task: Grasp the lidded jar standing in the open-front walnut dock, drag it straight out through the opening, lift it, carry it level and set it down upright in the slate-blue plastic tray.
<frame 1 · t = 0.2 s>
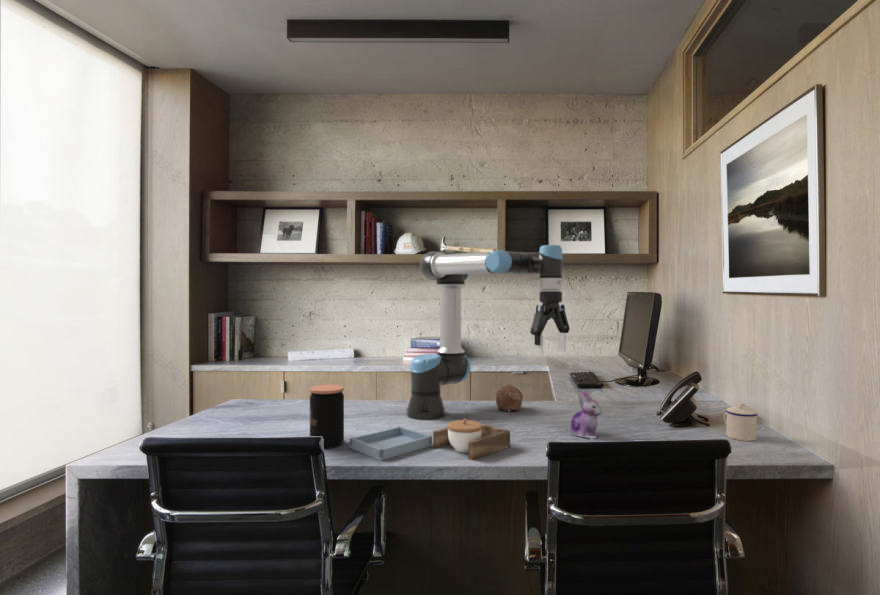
hand: (550, 353, 170), 28 cm above the table, fingers open, 13 cm apart
dock: (464, 449, 154), on the table
figurine: (586, 435, 169), on the table
teacup with lid: (737, 436, 168), on the table
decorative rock: (509, 410, 206), on the table
coffee jar: (326, 444, 159), on the table
lidded jar: (464, 450, 154), on the table
tray: (391, 446, 156), on the table
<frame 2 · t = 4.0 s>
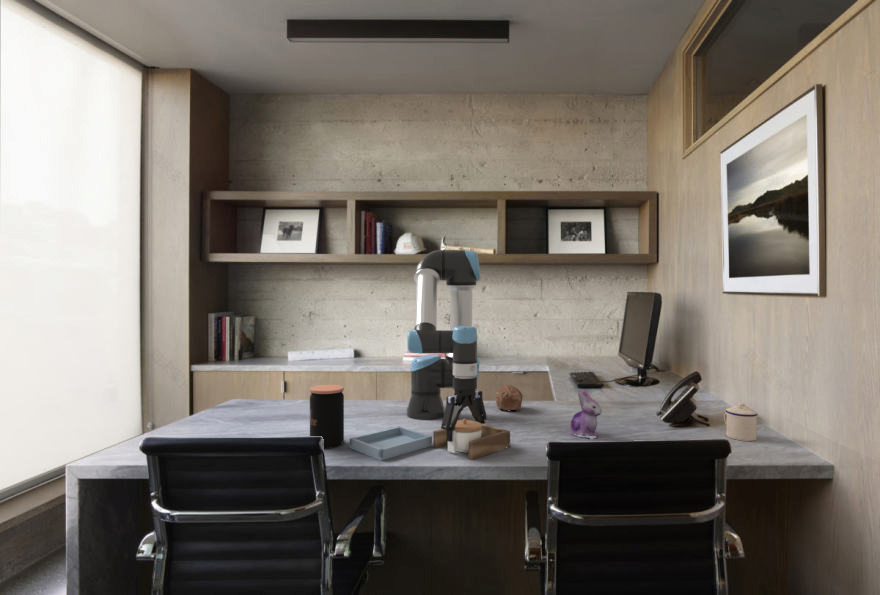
hand: (464, 447, 154), 0 cm above the table, fingers closed on lidded jar, 11 cm apart
lidded jar: (464, 449, 154), on the table, touching gripper
everything else where it was.
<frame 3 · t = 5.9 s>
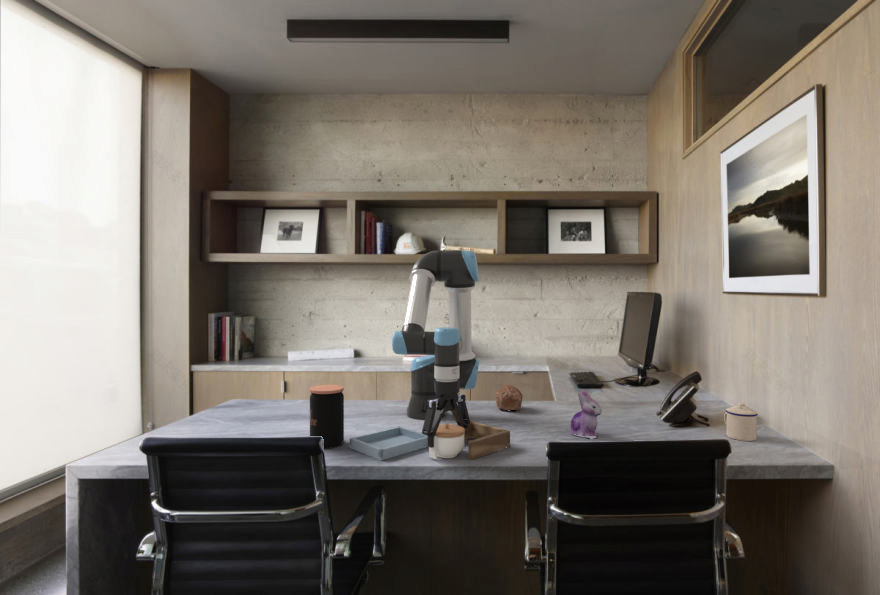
hand: (446, 453, 148), 0 cm above the table, fingers closed on lidded jar, 11 cm apart
lidded jar: (446, 455, 149), on the table, touching gripper
everything else where it was.
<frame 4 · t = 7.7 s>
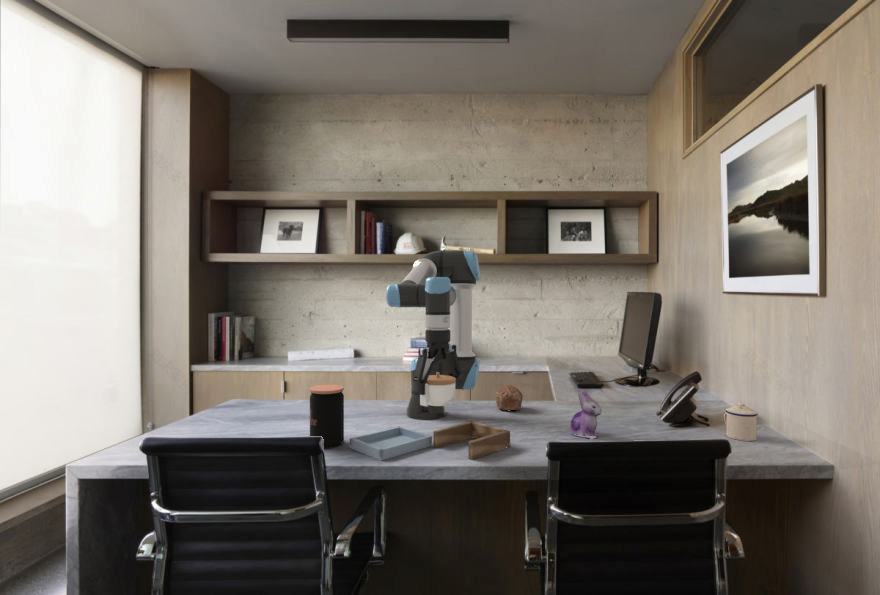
hand: (437, 402, 149), 16 cm above the table, fingers closed on lidded jar, 11 cm apart
lidded jar: (437, 404, 149), point 15 cm above the table, touching gripper
everything else where it was.
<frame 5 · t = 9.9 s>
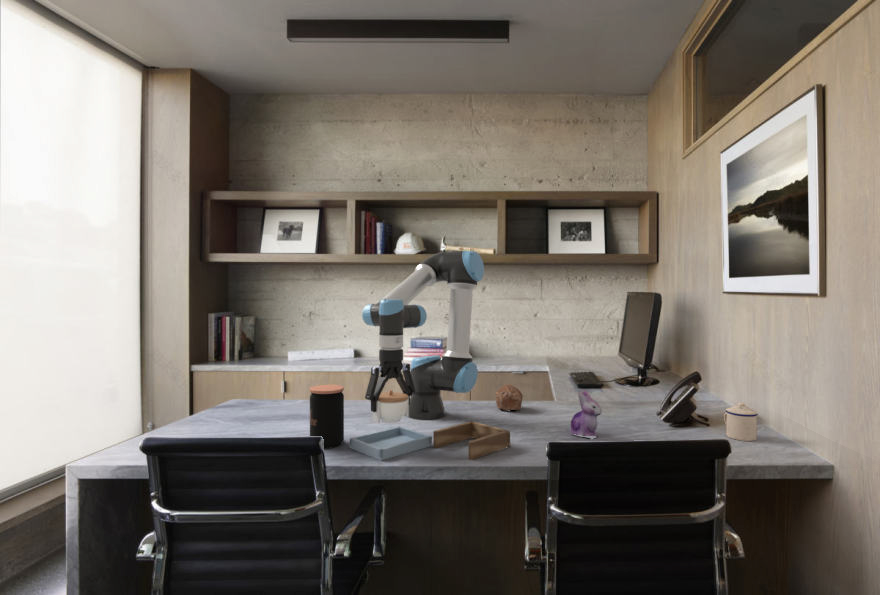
hand: (390, 418, 156), 9 cm above the table, fingers closed on lidded jar, 11 cm apart
lidded jar: (390, 420, 156), point 8 cm above the table, touching gripper
everything else where it was.
when the fingers open (2 cm above the table, at t = 11.6 s): lidded jar drops 1 cm, resting on tray.
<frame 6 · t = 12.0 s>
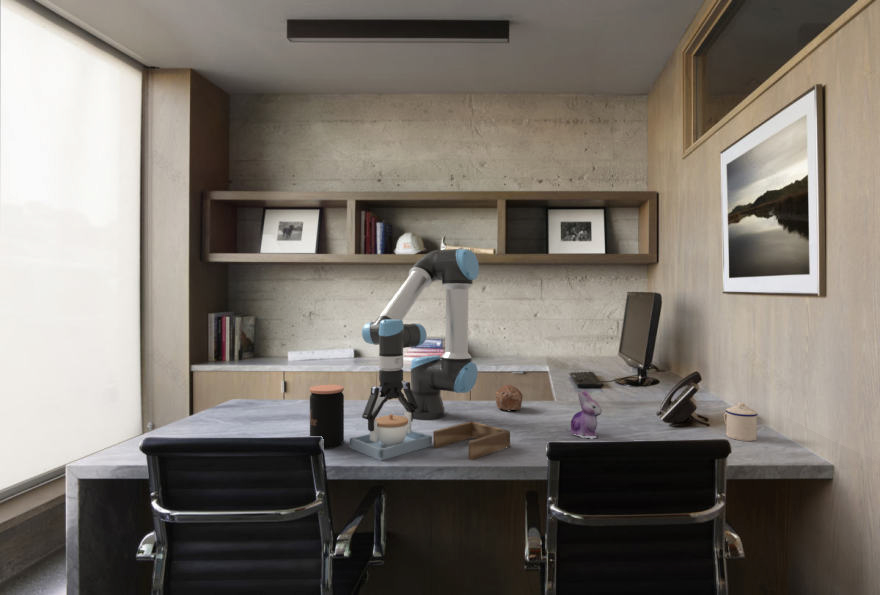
hand: (391, 436, 156), 3 cm above the table, fingers open, 13 cm apart
lidded jar: (391, 444, 156), point 1 cm above the table, touching tray
everything else where it was.
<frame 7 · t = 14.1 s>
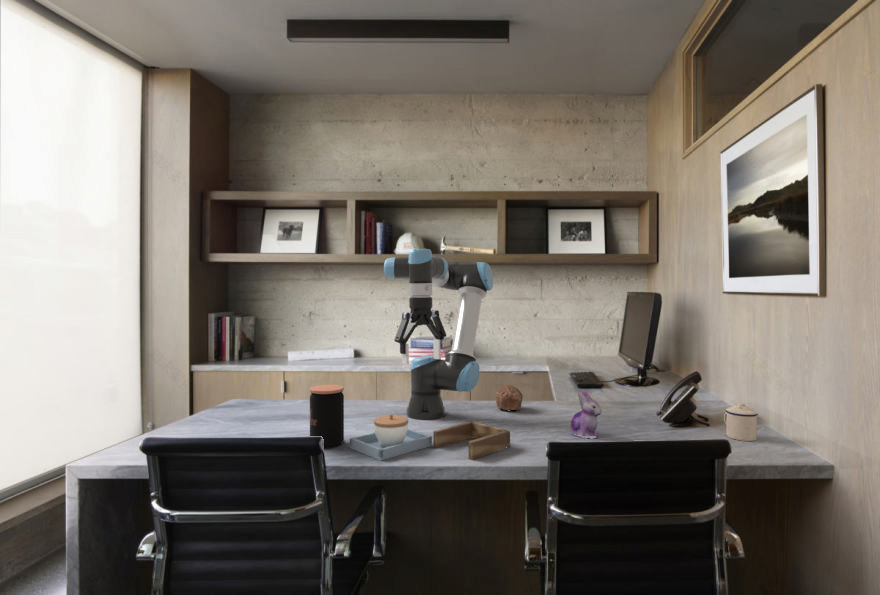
hand: (421, 361, 163), 26 cm above the table, fingers open, 13 cm apart
nothing on the table moved.
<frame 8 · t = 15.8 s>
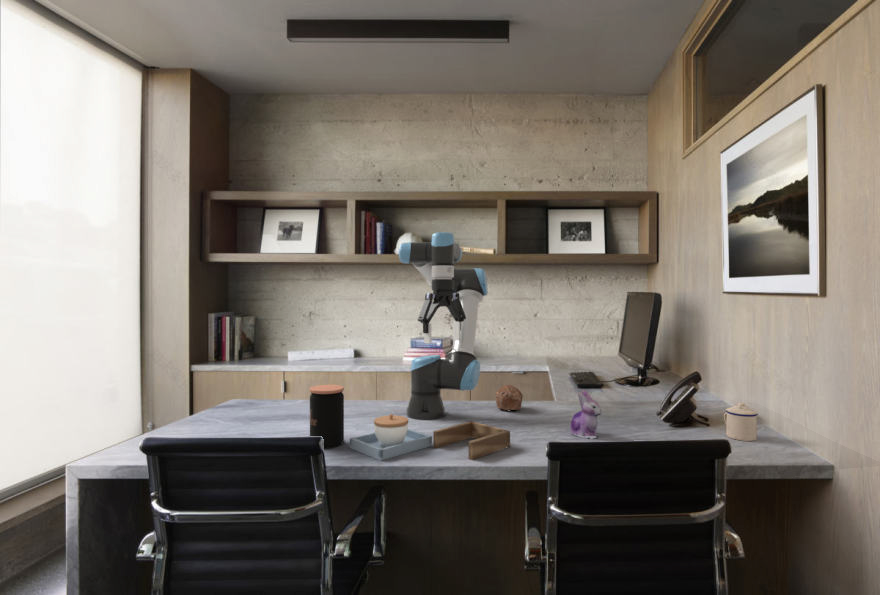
hand: (442, 342, 168), 32 cm above the table, fingers open, 13 cm apart
nothing on the table moved.
at the end: lidded jar inside the target area on the tray (0.0 cm from its centre), point 0.6 cm above the tray's base; lidded jar tilted 0°; the gripper is holding nothing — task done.
